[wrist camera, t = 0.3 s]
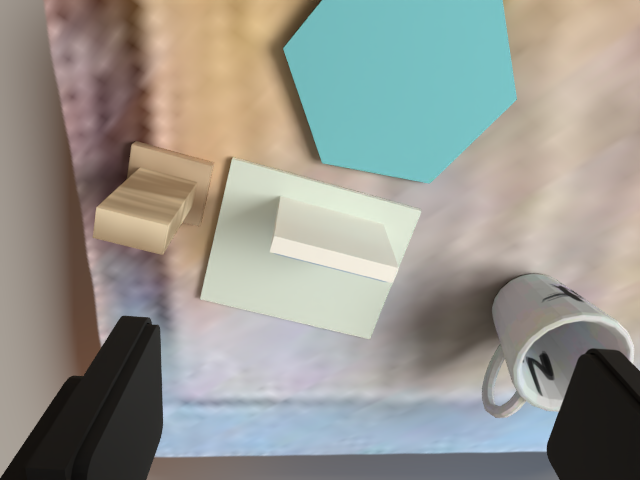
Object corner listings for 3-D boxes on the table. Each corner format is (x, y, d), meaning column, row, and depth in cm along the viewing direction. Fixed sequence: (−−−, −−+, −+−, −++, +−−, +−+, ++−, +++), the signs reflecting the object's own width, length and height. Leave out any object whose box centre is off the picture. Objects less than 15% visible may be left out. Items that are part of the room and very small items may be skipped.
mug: (600, 291, 52) (662, 351, 42) (503, 388, 57) (540, 460, 47) (524, 241, 49) (573, 293, 40) (430, 347, 54) (454, 415, 45)
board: (233, 156, 45) (232, 158, 44) (420, 208, 47) (421, 211, 47) (201, 296, 51) (200, 299, 50) (369, 336, 53) (369, 339, 53)
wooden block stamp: (136, 141, 44) (84, 179, 34) (214, 162, 45) (186, 206, 35) (127, 202, 47) (76, 255, 36) (201, 221, 48) (172, 279, 37)
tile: (280, 196, 46) (274, 235, 38) (383, 223, 47) (398, 268, 39) (276, 211, 47) (269, 254, 38) (377, 238, 48) (391, 285, 40)
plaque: (515, 148, 46) (480, -99, 38) (524, 155, 45) (490, -103, 36) (335, 204, 48) (261, -20, 39) (336, 212, 46) (260, -21, 38)
